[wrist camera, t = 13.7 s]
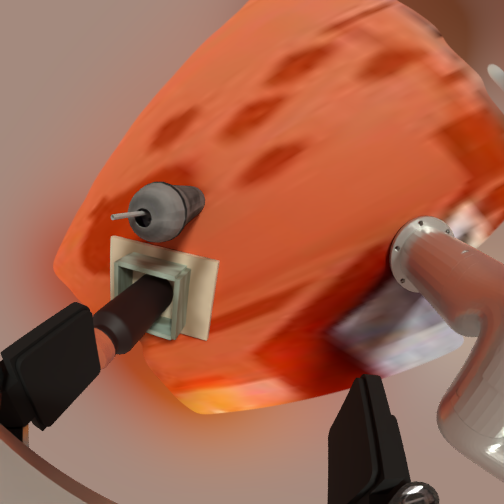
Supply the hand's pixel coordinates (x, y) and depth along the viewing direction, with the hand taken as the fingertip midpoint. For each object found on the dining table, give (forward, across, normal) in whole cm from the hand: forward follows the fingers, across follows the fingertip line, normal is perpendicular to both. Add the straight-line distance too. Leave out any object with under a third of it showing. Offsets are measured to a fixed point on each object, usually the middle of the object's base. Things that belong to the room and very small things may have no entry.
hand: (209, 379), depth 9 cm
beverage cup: (+35, +14, 0) cm, 38 cm away
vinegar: (+34, +19, +16) cm, 42 cm away
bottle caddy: (+35, +19, +16) cm, 43 cm away
